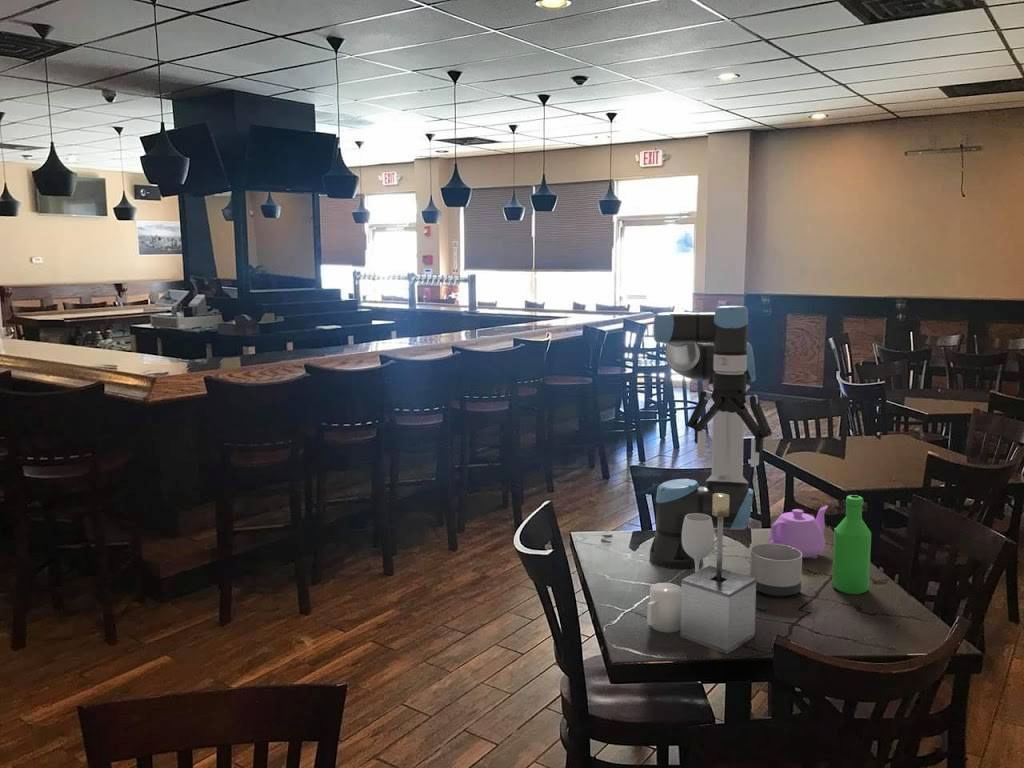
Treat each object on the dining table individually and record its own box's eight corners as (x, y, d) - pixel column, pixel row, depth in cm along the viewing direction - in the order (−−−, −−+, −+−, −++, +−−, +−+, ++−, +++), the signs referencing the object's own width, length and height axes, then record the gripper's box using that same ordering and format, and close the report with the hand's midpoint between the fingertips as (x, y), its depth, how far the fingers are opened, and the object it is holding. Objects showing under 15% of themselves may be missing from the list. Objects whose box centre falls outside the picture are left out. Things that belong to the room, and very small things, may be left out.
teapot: (806, 541, 242) (808, 498, 240) (846, 557, 228) (849, 511, 226) (751, 552, 233) (752, 507, 231) (789, 569, 219) (791, 522, 217)
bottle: (872, 596, 200) (877, 502, 197) (835, 594, 202) (840, 500, 198) (863, 583, 209) (868, 492, 205) (829, 581, 210) (833, 491, 207)
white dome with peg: (635, 629, 183) (635, 593, 182) (661, 615, 191) (661, 580, 190) (662, 640, 178) (663, 602, 177) (688, 624, 186) (689, 588, 184)
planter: (808, 589, 206) (810, 550, 204) (788, 604, 196) (790, 564, 195) (762, 576, 214) (763, 540, 213) (740, 591, 205) (741, 552, 203)
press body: (680, 637, 179) (681, 579, 177) (708, 620, 188) (709, 565, 186) (727, 654, 171) (729, 594, 169) (754, 636, 179) (756, 578, 177)
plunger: (689, 594, 178) (691, 495, 175) (711, 582, 184) (713, 487, 181) (726, 606, 171) (729, 504, 168) (747, 593, 178) (750, 495, 175)
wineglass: (715, 590, 205) (717, 513, 202) (712, 604, 197) (714, 523, 194) (681, 587, 208) (682, 510, 205) (677, 599, 200) (678, 520, 197)
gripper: (674, 370, 188) (672, 456, 191) (774, 378, 171) (771, 472, 174) (689, 367, 193) (688, 451, 196) (788, 374, 177) (785, 466, 180)
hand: (727, 461), depth 185 cm, fingers open, 13 cm apart
